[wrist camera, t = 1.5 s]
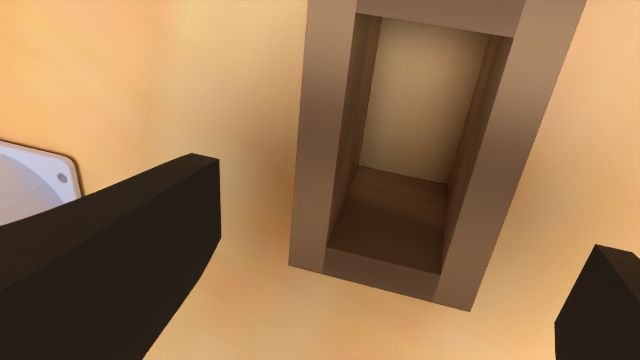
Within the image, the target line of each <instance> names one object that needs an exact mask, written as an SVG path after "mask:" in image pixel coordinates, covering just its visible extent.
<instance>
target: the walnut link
mask: <svg viewBox="0 0 640 360" xmlns="http://www.w3.org/2000/svg"><path fill="white" fill-rule="evenodd" d="M586 1H587V0H308V8H307V22H306V35H305V48H304V62H303V75H302V89H301V102H300V116H299V129H298V142H297V156H296V169H295V183H294V196H293V210H292V223H291V236H290V250H289V263H288V265H289V266H293V267H296V268H300V269H304V270H308V271H312V272H316V273H320V274H324V275H328V276H331V277H335V278H339V279H343V280H347V281H351V282H355V283H359V284H362V285H366V286H370V287H374V288H378V289H382V290H386V291H390V292H394V293H397V294H401V295H405V296H409V297H413V298H417V299H421V300H425V301H428V302H432V303H436V304H440V305H444V306H448V307H452V308H456V309H459V310H463V311H467V312H470V311H471V308H472V305H473V303H474V300H475V297H476V295H477V292H478V289H479V287H480V284H481V281H482V279H483V276H484V273H485V271H486V268H487V265H488V263H489V260H490V257H491V255H492V252H493V249H494V247H495V244H496V241H497V239H498V236H499V233H500V231H501V228H502V225H503V223H504V220H505V217H506V215H507V212H508V209H509V207H510V204H511V201H512V199H513V196H514V193H515V191H516V188H517V185H518V183H519V180H520V177H521V175H522V172H523V169H524V167H525V164H526V161H527V159H528V156H529V153H530V151H531V148H532V145H533V143H534V140H535V137H536V135H537V132H538V129H539V127H540V124H541V121H542V119H543V116H544V113H545V111H546V108H547V105H548V103H549V100H550V97H551V95H552V92H553V89H554V87H555V84H556V81H557V79H558V76H559V73H560V71H561V68H562V65H563V63H564V60H565V57H566V55H567V52H568V49H569V47H570V44H571V41H572V39H573V36H574V33H575V31H576V28H577V25H578V23H579V20H580V17H581V15H582V12H583V9H584V7H585V4H586ZM382 17H387V18H393V19H399V20H405V21H412V22H418V23H424V24H430V25H437V26H443V27H449V28H455V29H462V30H468V31H474V32H480V33H487V34H490V38H489V41H488V45H487V48H486V52H485V56H484V59H483V63H482V66H481V70H480V73H479V77H478V80H477V84H476V88H475V91H474V95H473V98H472V102H471V105H470V109H469V112H468V116H467V120H466V123H465V127H464V130H463V134H462V137H461V141H460V144H459V148H458V152H457V155H456V159H455V162H454V166H453V169H452V173H451V176H450V180H449V184H448V185H445V184H440V183H435V182H431V181H426V180H421V179H417V178H412V177H408V176H403V175H398V174H394V173H389V172H384V171H380V170H375V169H370V168H366V167H361V166H358V165H359V158H360V152H361V146H362V139H363V133H364V126H365V120H366V114H367V107H368V101H369V95H370V88H371V82H372V75H373V69H374V63H375V56H376V50H377V43H378V37H379V31H380V24H381V18H382Z"/></svg>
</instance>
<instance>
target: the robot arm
mask: <svg viewBox="0 0 640 360" xmlns="http://www.w3.org/2000/svg"><path fill="white" fill-rule="evenodd" d="M220 239H221V206H220V168H219V159H216V158H212V157H207V156H203V155H198V154H194V153H191V154H187V155H184V156H181V157H179V158H176V159H174V160H171V161H169V162H166V163H164V164H161V165H159V166H156V167H154V168H152V169H149V170H147V171H145V172H142V173H140V174H138V175H135V176H133V177H130V178H128V179H126V180H123V181H121V182H118V183H116V184H114V185H111V186H109V187H107V188H104V189H102V190H99V191H97V192H94V193H92V194H89V195H86V196H84V197H81V193H80V188H79V184H78V179H77V174H76V170H75V166H74V163H73V162H72V161H71V160H70V159H69V158H67V157H65V156H62V155H57V154H53V153H49V152H45V151H41V150H36V149H32V148H28V147H24V146H19V145H15V144H11V143H7V142H3V141H0V360H142V359H143V358H144V356H145V355H146V353H147V352H148V351H149V349H150V348H151V346H152V345H153V344H154V342H155V341H156V339H157V338H158V337H159V335H160V334H161V332H162V331H163V330H164V328H165V327H166V326H167V324H168V323H169V321H170V320H171V319H172V317H173V316H174V314H175V313H176V312H177V310H178V309H179V307H180V306H181V305H182V303H183V302H184V300H185V299H186V297H187V296H188V295H189V293H190V292H191V290H192V289H193V287H194V286H195V285H196V283H197V282H198V280H199V279H200V277H201V275H202V274H203V272H204V270H205V268H206V266H207V264H208V263H209V261H210V259H211V257H212V255H213V253H214V251H215V249H216V247H217V245H218V243H219V241H220ZM554 324H555V355H556V360H640V259H639V258H638V257H637V256H636V255H635V254H634V253H633V252H628V251H624V250H619V249H615V248H611V247H606V246H602V245H597V244H595V246H594V248H593V250H592V252H591V254H590V255H589V257H588V259H587V261H586V263H585V265H584V267H583V269H582V271H581V273H580V275H579V277H578V278H577V280H576V282H575V284H574V286H573V288H572V290H571V292H570V294H569V296H568V298H567V299H566V301H565V303H564V305H563V307H562V309H561V311H560V313H559V315H558V317H557V319H556V321H555V322H554Z"/></svg>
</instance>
